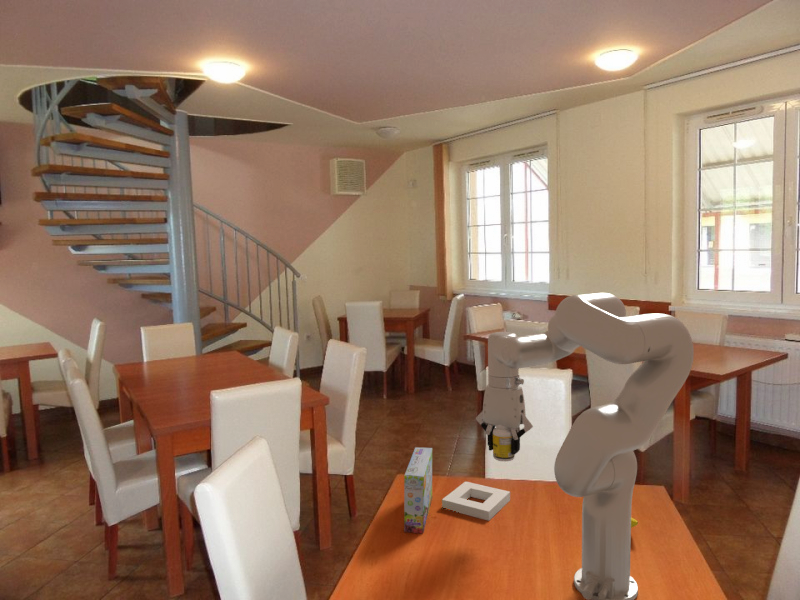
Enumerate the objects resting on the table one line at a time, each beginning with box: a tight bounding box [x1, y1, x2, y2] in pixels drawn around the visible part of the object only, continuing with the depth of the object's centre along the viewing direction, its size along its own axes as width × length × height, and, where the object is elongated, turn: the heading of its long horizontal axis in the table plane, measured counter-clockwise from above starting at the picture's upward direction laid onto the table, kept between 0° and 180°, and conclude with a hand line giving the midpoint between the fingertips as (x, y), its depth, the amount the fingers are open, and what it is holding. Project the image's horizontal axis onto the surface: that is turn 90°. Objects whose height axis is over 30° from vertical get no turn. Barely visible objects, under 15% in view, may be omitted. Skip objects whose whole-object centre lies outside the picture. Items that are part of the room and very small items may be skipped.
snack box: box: [403, 447, 433, 534], centre depth 155 cm, size 21×6×15 cm, turn 171°
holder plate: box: [441, 481, 511, 521], centre depth 160 cm, size 14×14×2 cm
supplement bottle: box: [492, 424, 516, 462], centre depth 147 cm, size 5×5×10 cm
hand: (503, 450), depth 147 cm, fingers closed on supplement bottle, 5 cm apart
